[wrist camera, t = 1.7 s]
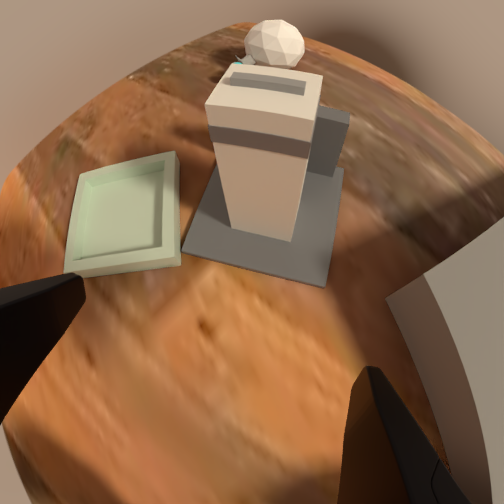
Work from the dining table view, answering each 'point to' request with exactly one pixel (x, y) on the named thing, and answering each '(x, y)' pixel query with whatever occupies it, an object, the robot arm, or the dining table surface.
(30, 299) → the robot arm
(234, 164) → the banded cream pillar
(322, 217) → the dock
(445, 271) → the box
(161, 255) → the tray
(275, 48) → the perfume bottle
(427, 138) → the dining table surface
